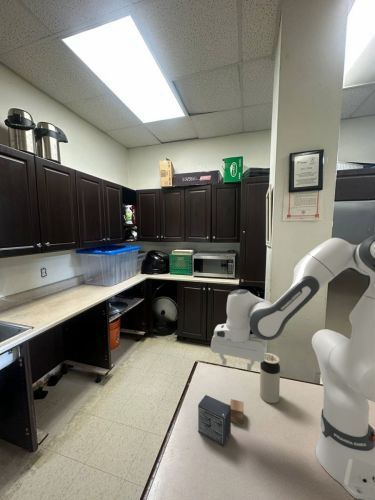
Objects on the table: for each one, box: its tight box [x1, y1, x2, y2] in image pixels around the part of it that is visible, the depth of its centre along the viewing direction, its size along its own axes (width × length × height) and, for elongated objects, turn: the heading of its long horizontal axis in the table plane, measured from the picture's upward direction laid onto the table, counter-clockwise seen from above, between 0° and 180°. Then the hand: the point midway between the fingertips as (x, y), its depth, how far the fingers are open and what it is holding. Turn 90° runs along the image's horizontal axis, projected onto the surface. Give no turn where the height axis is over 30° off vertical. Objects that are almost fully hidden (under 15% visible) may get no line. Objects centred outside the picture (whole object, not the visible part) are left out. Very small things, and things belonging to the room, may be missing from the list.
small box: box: [197, 394, 232, 447], centre depth 75 cm, size 11×6×10 cm, turn 58°
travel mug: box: [259, 352, 281, 404], centre depth 92 cm, size 8×8×18 cm
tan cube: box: [229, 398, 245, 425], centre depth 82 cm, size 5×5×5 cm
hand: (236, 366), depth 81 cm, fingers open, 8 cm apart
